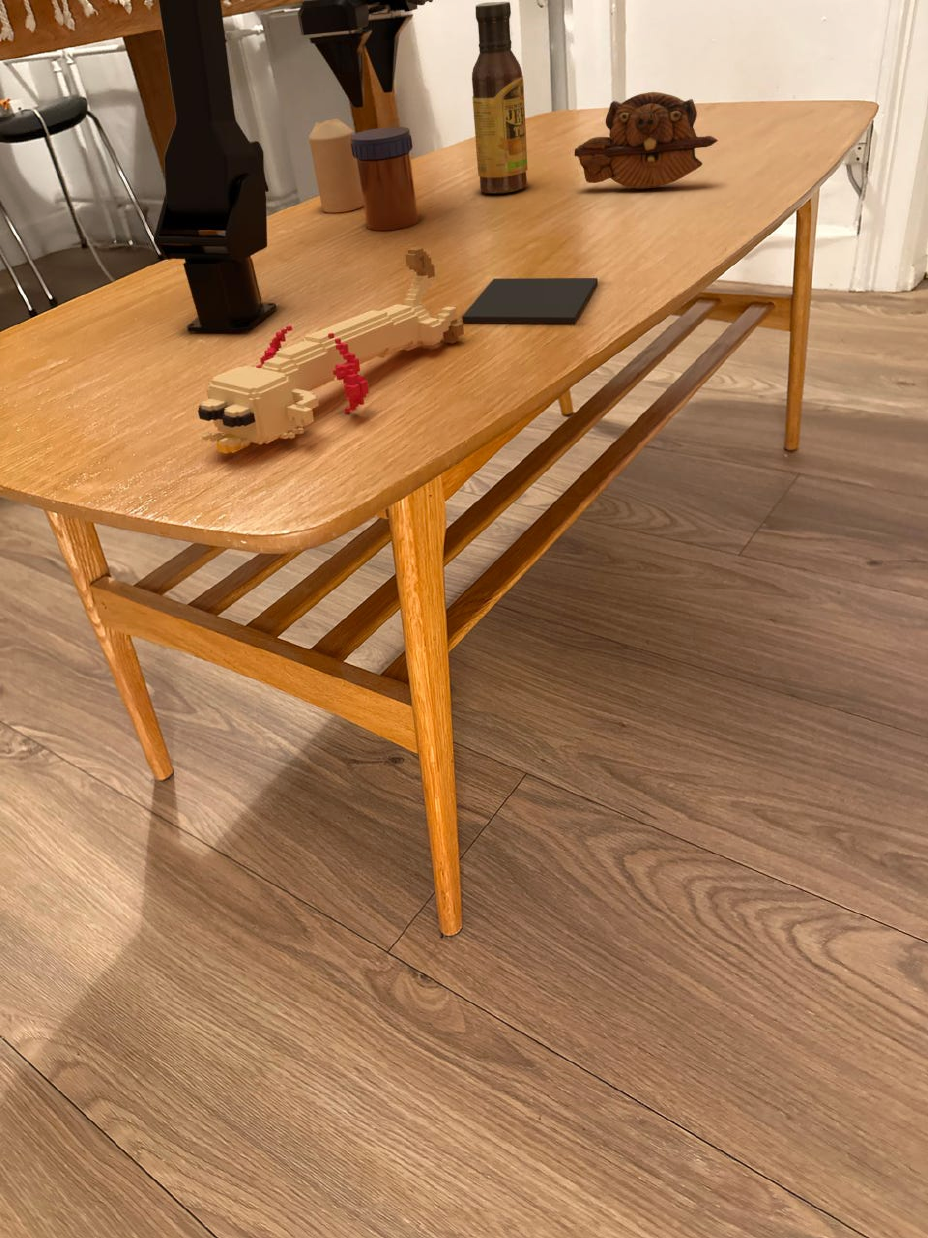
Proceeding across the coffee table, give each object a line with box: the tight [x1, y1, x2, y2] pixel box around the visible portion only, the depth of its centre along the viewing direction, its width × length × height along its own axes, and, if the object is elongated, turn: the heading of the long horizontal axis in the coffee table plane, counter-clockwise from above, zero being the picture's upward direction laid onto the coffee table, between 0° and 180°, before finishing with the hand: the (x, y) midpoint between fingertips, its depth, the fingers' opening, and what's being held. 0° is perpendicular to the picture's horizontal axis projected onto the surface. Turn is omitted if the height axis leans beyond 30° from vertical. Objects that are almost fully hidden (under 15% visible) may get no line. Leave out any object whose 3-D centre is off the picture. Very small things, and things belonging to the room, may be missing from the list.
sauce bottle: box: [471, 1, 529, 194], centre depth 111 cm, size 6×6×20 cm
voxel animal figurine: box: [197, 246, 465, 455], centre depth 68 cm, size 10×9×25 cm
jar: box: [356, 151, 419, 232], centre depth 106 cm, size 6×6×9 cm
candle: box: [308, 118, 364, 213], centre depth 115 cm, size 6×6×10 cm
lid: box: [350, 126, 413, 160], centre depth 104 cm, size 7×7×2 cm
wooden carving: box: [574, 91, 719, 189], centre depth 107 cm, size 16×5×10 cm, turn 76°
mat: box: [461, 277, 599, 325], centre depth 82 cm, size 10×10×1 cm
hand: (374, 99), depth 101 cm, fingers open, 8 cm apart
